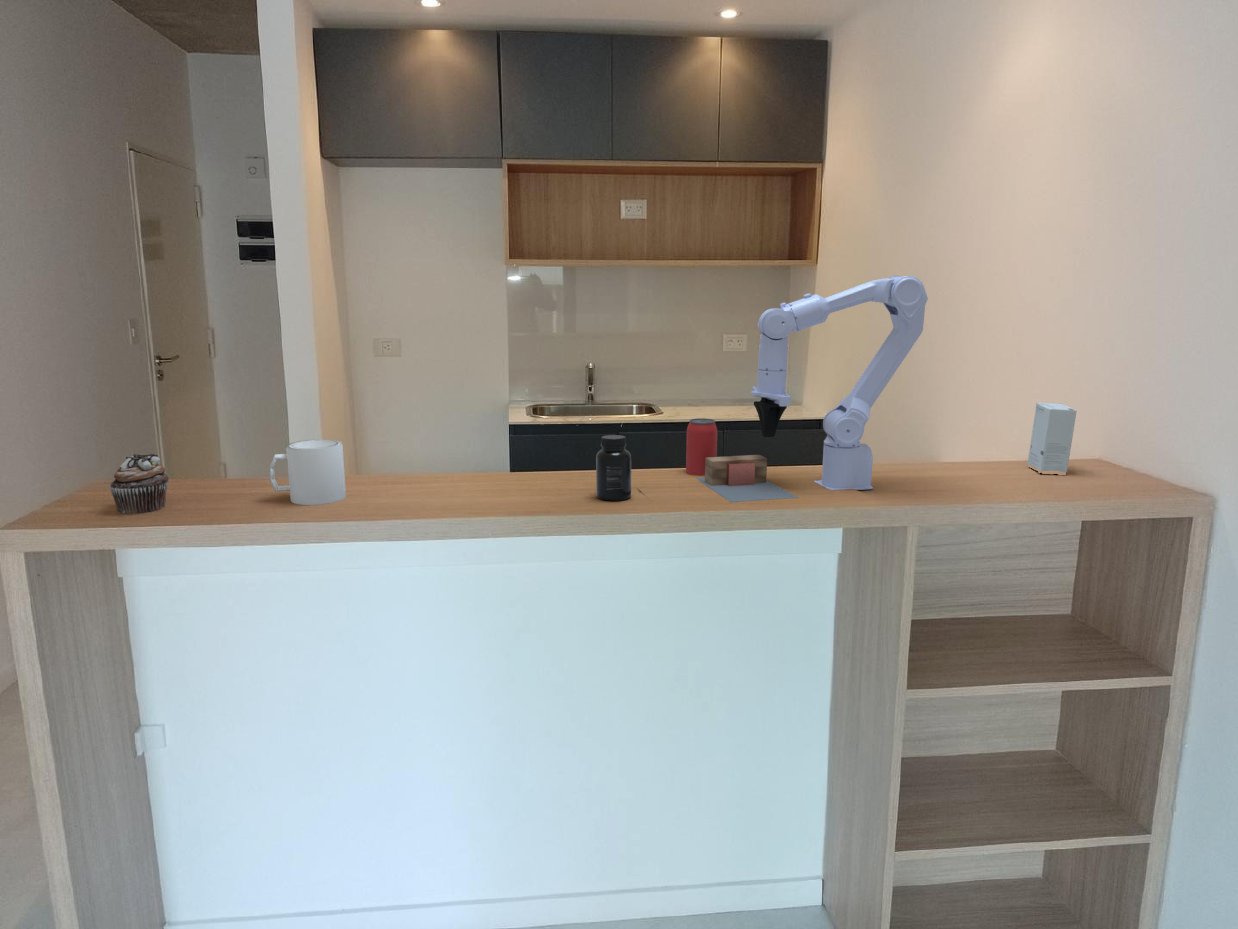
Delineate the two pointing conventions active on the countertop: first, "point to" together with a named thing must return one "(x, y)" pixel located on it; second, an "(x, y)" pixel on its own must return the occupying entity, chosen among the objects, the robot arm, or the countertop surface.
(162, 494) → the cupcake
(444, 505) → the countertop surface
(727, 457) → the block
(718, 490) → the mat
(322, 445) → the mug
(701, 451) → the beer can
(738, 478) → the pin
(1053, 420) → the skincare box
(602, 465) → the supplement bottle
